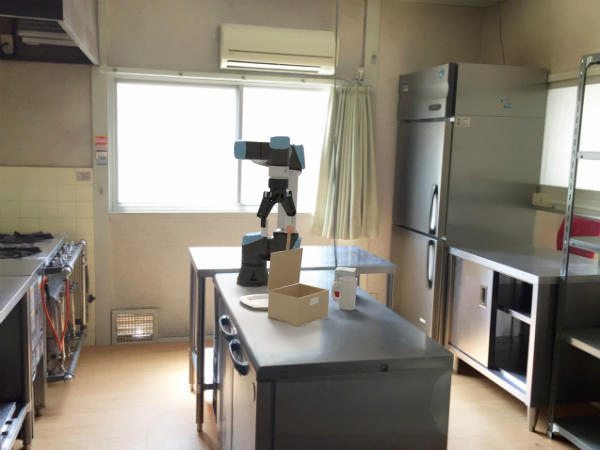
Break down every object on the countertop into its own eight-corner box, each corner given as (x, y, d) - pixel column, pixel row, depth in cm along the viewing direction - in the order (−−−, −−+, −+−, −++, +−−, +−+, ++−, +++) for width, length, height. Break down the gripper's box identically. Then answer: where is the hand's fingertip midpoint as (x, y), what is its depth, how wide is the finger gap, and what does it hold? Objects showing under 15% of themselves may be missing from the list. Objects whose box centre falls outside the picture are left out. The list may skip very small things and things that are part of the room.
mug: (352, 305, 227) (354, 276, 226) (357, 310, 221) (359, 280, 219) (328, 306, 225) (330, 276, 224) (332, 310, 219) (334, 280, 217)
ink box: (352, 298, 238) (354, 271, 236) (332, 297, 240) (334, 269, 238) (355, 293, 246) (356, 267, 245) (335, 292, 248) (336, 265, 246)
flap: (270, 291, 204) (264, 289, 206) (301, 283, 218) (295, 281, 220) (277, 228, 200) (270, 226, 202) (308, 224, 214) (302, 222, 216)
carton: (267, 317, 206) (268, 291, 205) (298, 308, 220) (299, 283, 219) (297, 326, 198) (299, 298, 196) (327, 316, 212) (329, 290, 210)
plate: (251, 313, 212) (252, 308, 211) (233, 300, 229) (233, 295, 228) (297, 309, 220) (297, 304, 220) (276, 296, 237) (277, 292, 237)
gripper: (263, 179, 198) (261, 239, 201) (307, 178, 217) (304, 232, 220) (248, 177, 202) (246, 236, 205) (292, 176, 222) (289, 230, 224)
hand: (276, 234), depth 212 cm, fingers open, 13 cm apart
